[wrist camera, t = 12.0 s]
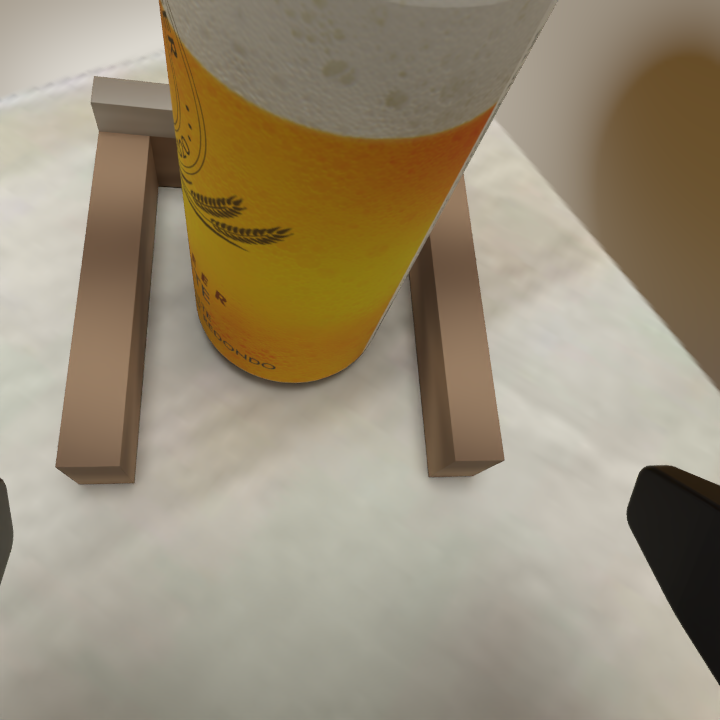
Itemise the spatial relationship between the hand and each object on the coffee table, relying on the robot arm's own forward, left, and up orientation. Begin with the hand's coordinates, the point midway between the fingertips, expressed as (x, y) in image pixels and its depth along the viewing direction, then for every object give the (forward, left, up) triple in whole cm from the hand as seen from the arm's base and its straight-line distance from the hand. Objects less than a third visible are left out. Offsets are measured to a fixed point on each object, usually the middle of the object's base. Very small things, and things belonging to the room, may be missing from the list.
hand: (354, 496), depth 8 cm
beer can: (+7, -3, -10) cm, 13 cm away
